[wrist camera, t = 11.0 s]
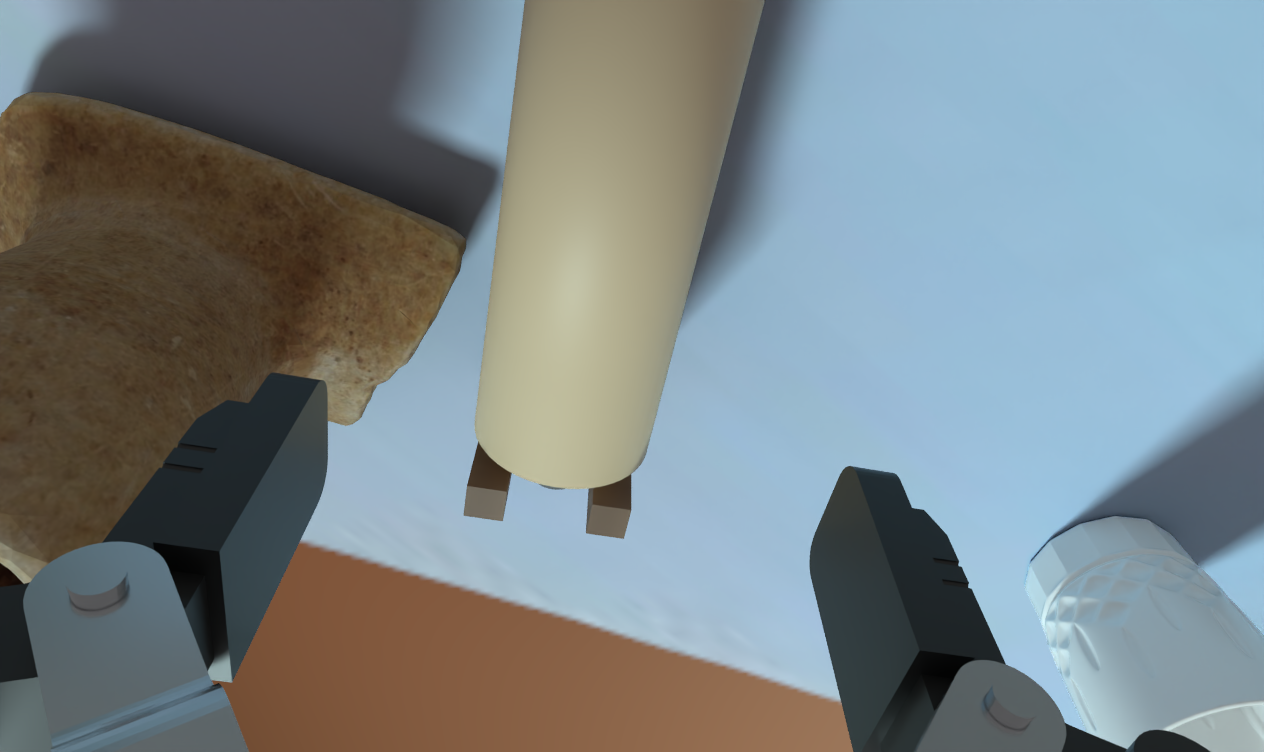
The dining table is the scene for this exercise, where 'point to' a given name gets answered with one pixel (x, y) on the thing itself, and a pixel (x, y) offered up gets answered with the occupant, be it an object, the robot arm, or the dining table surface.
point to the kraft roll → (602, 225)
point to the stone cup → (175, 302)
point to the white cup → (1148, 637)
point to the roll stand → (492, 486)
